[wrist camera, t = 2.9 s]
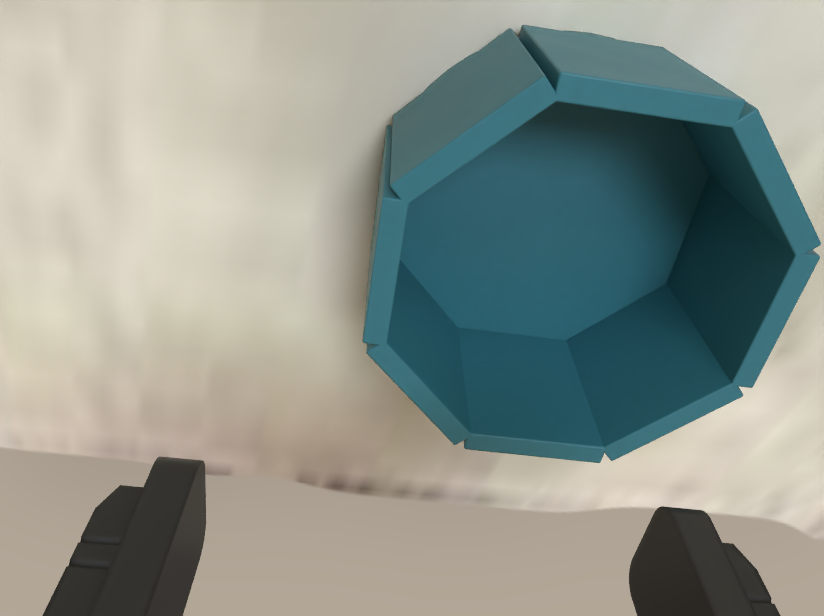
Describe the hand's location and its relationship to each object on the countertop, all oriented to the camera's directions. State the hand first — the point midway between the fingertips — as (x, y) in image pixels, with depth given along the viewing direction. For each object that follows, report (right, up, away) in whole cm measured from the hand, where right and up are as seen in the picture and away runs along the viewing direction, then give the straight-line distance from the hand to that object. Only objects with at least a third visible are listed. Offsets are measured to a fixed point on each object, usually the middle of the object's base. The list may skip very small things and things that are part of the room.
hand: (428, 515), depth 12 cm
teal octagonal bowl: (+5, +8, +16) cm, 19 cm away
